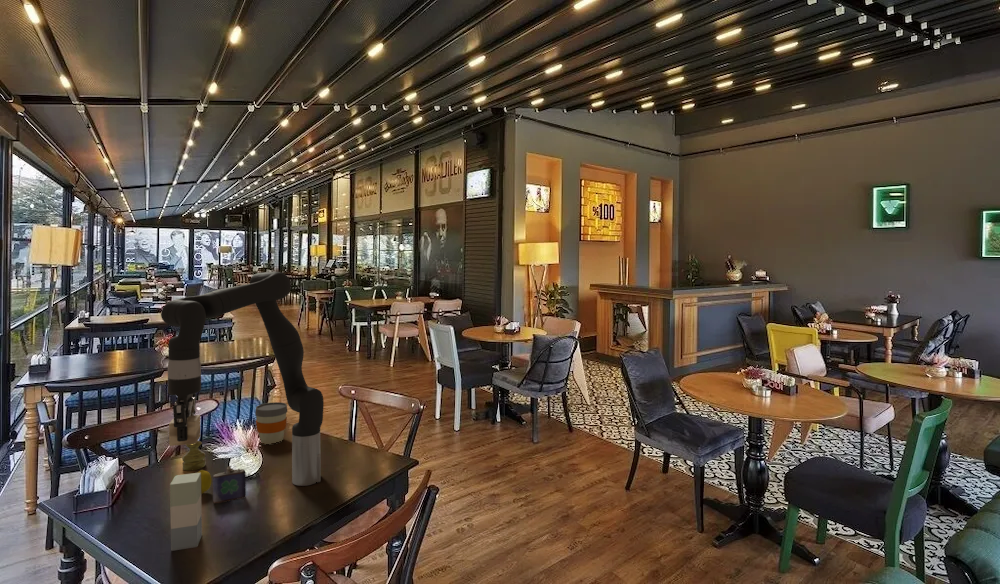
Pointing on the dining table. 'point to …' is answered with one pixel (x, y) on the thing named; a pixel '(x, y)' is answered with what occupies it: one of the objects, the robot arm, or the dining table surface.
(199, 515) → the tower mid
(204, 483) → the lemon
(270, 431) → the reusable coffee cup
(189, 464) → the olive tiered cone
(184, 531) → the tower base
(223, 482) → the flask
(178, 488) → the tower top
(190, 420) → the maple cube
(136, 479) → the dining table surface
